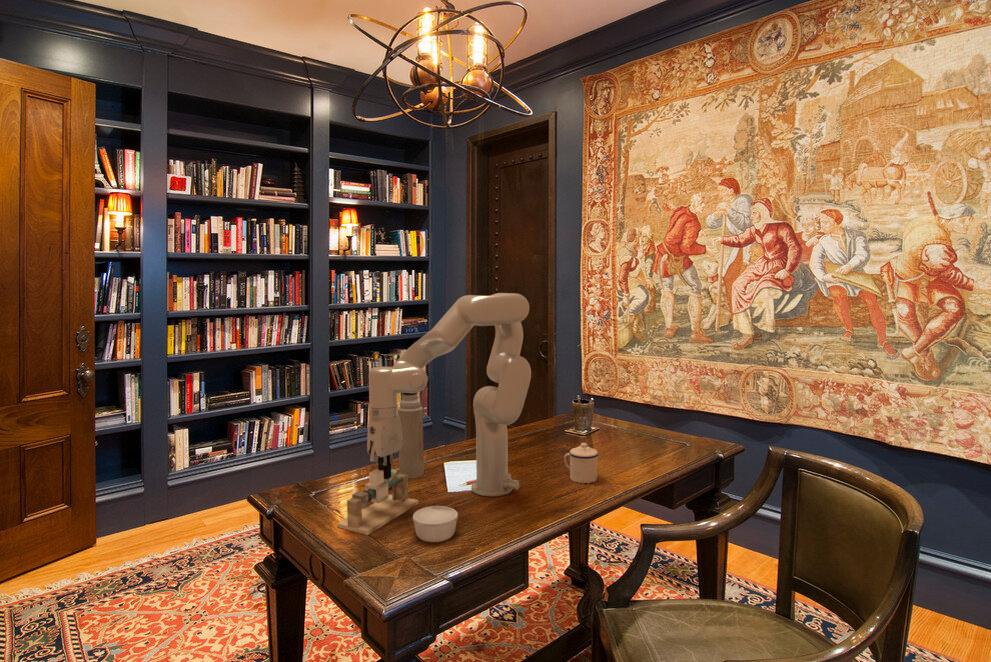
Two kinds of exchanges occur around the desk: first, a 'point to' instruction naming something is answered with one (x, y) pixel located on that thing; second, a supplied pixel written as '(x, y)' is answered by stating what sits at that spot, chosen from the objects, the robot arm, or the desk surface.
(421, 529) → the ramekin
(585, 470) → the teacup with lid
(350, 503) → the wooden toy assembly
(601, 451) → the desk surface
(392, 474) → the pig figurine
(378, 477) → the marker sleeve
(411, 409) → the thermos bottle
